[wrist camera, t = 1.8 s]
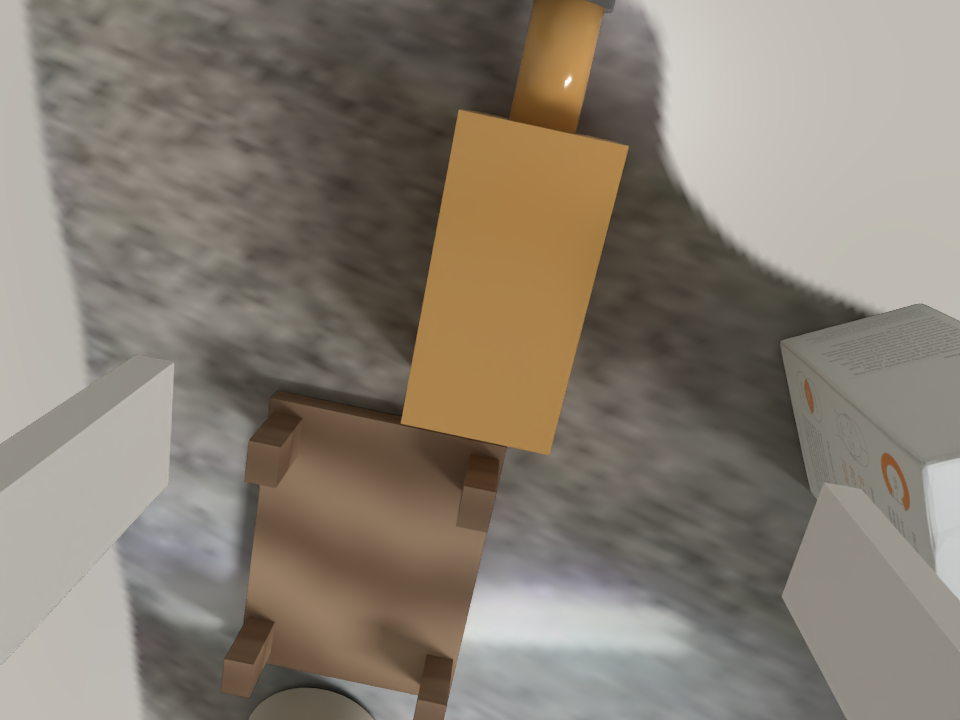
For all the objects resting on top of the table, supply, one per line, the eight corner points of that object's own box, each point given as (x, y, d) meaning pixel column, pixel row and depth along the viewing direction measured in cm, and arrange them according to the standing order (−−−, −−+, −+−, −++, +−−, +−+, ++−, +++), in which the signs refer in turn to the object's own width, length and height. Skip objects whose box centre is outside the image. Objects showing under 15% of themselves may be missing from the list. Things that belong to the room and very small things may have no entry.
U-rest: (277, 390, 36) (245, 425, 32) (507, 438, 36) (504, 479, 32) (246, 645, 41) (215, 702, 37) (449, 687, 41) (440, 749, 37)
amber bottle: (546, 400, 36) (549, 455, 30) (421, 373, 36) (400, 423, 30) (648, -9, 30) (676, -38, 24) (499, -42, 30) (493, -78, 24)
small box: (947, 460, 35) (1173, 649, 23) (808, 493, 36) (952, 691, 24) (923, 296, 33) (1160, 408, 20) (775, 336, 34) (916, 465, 21)
